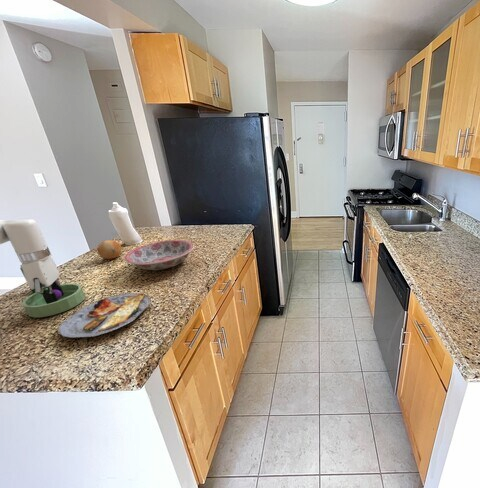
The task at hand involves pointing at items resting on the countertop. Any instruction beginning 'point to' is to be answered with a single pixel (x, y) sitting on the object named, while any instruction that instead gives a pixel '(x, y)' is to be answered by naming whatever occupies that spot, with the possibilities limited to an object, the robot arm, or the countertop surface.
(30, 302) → the green bowl
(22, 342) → the countertop surface
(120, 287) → the countertop surface
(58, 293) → the ball
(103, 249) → the onion
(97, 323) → the food plate
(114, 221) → the white squeeze bottle
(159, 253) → the ceramic bowl
